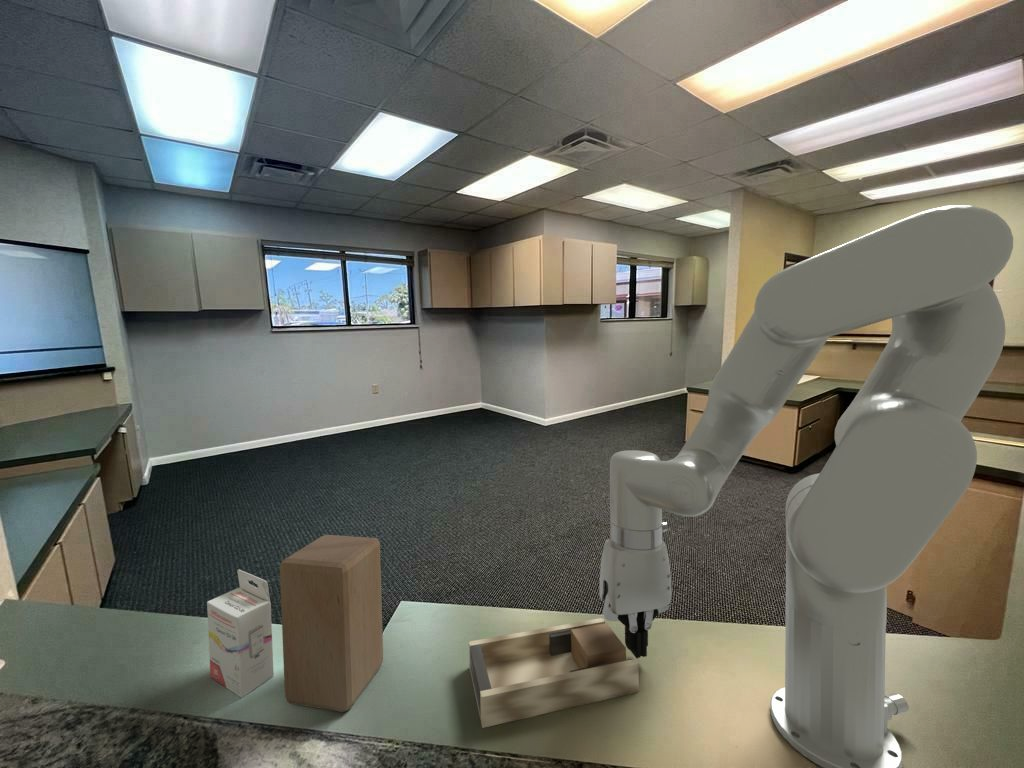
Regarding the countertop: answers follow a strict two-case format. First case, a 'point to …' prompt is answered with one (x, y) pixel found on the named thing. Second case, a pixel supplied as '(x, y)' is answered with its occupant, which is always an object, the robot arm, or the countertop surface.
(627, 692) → the chute
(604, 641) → the block
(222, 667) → the ink cartridge box
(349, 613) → the block
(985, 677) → the countertop surface
